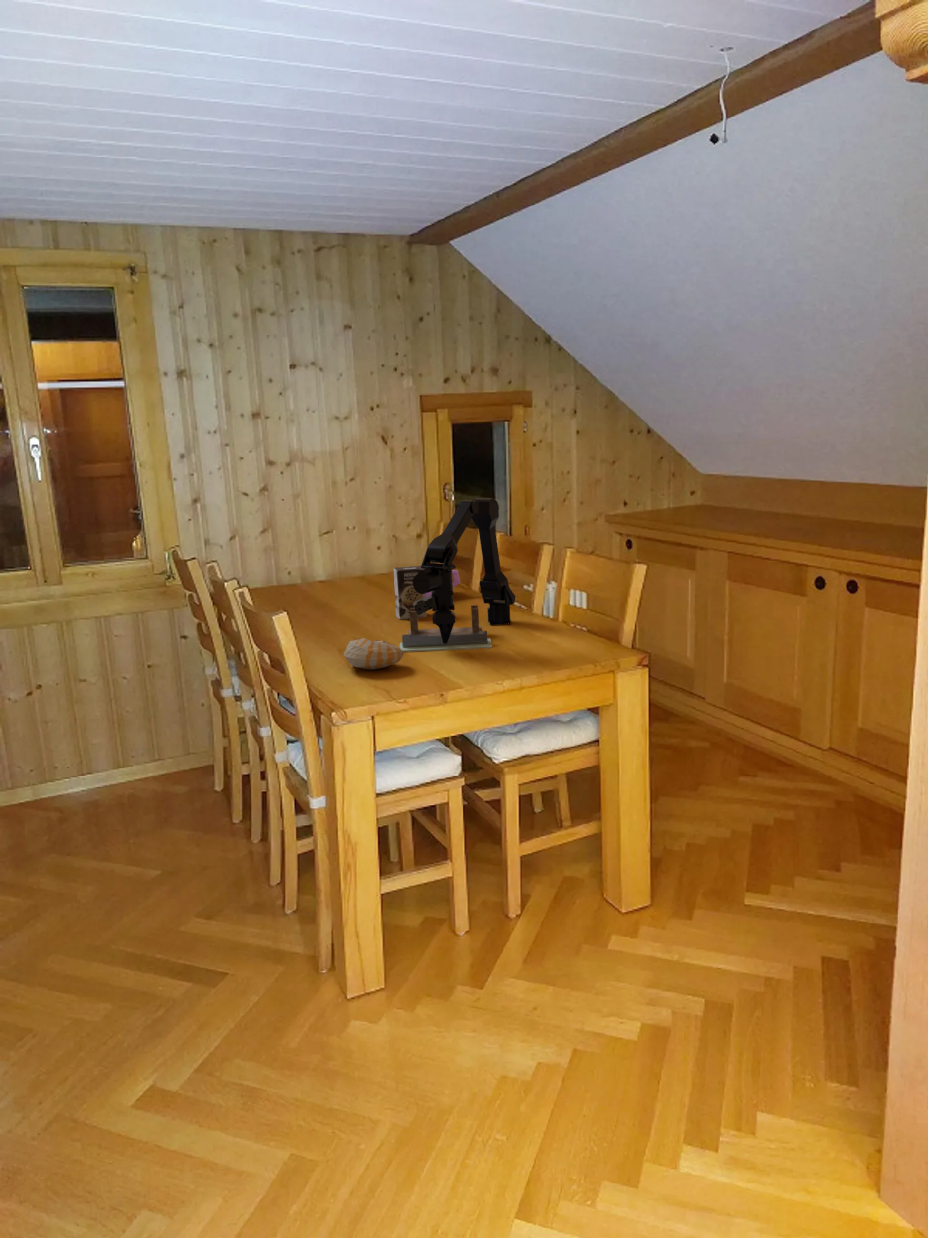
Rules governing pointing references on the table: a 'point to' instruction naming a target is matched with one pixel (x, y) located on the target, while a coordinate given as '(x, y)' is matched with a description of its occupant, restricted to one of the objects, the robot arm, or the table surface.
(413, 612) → the hook stand
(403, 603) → the cookie box
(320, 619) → the table surface
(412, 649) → the rubber mat
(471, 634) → the hang rail
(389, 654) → the nautilus
